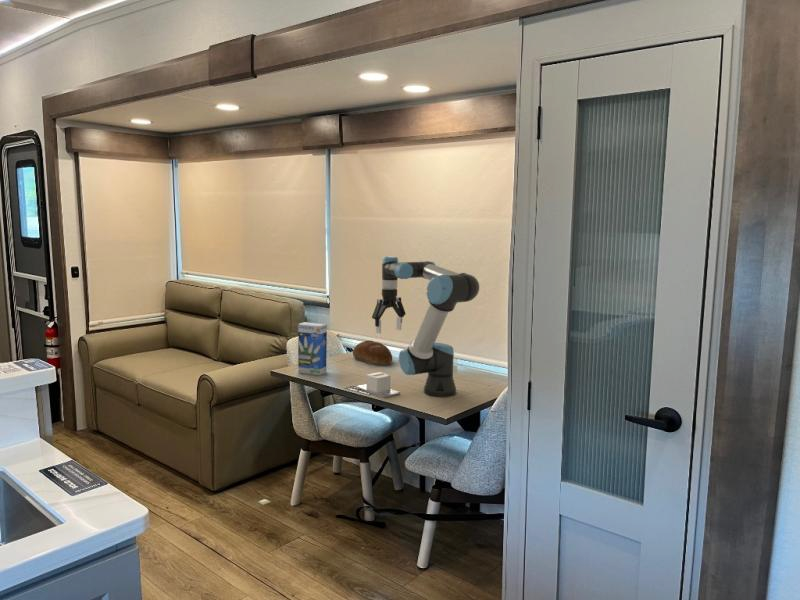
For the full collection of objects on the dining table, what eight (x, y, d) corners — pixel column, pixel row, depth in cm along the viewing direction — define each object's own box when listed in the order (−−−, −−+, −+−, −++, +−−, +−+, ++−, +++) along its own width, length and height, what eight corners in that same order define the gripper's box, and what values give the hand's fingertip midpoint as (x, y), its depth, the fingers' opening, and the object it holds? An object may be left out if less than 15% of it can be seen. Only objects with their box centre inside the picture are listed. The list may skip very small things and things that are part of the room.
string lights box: (297, 372, 312) (297, 323, 308) (305, 369, 319) (304, 321, 315) (320, 375, 307) (320, 326, 304) (327, 372, 314) (327, 323, 311)
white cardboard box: (379, 385, 287) (379, 371, 286) (390, 389, 281) (390, 374, 280) (366, 388, 282) (366, 373, 281) (376, 392, 276) (377, 377, 275)
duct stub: (400, 394, 278) (400, 381, 277) (383, 398, 271) (383, 385, 270) (373, 384, 292) (373, 372, 292) (356, 388, 286) (356, 375, 285)
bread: (376, 368, 325) (377, 347, 324) (345, 357, 347) (346, 338, 346) (399, 364, 335) (399, 344, 333) (367, 354, 357) (367, 335, 356)
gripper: (402, 285, 302) (401, 327, 305) (364, 289, 285) (364, 333, 288) (413, 287, 296) (412, 329, 300) (375, 291, 279) (374, 335, 282)
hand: (388, 331), depth 294 cm, fingers open, 13 cm apart
